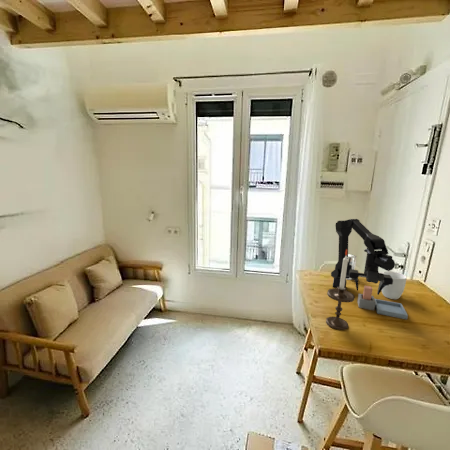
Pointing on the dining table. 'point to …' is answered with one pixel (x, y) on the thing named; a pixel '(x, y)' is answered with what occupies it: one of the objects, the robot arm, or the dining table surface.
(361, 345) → the dining table surface
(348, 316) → the dining table surface
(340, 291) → the candlestick
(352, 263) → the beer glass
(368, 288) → the peg
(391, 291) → the mug
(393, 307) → the tray
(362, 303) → the hollow square socket
